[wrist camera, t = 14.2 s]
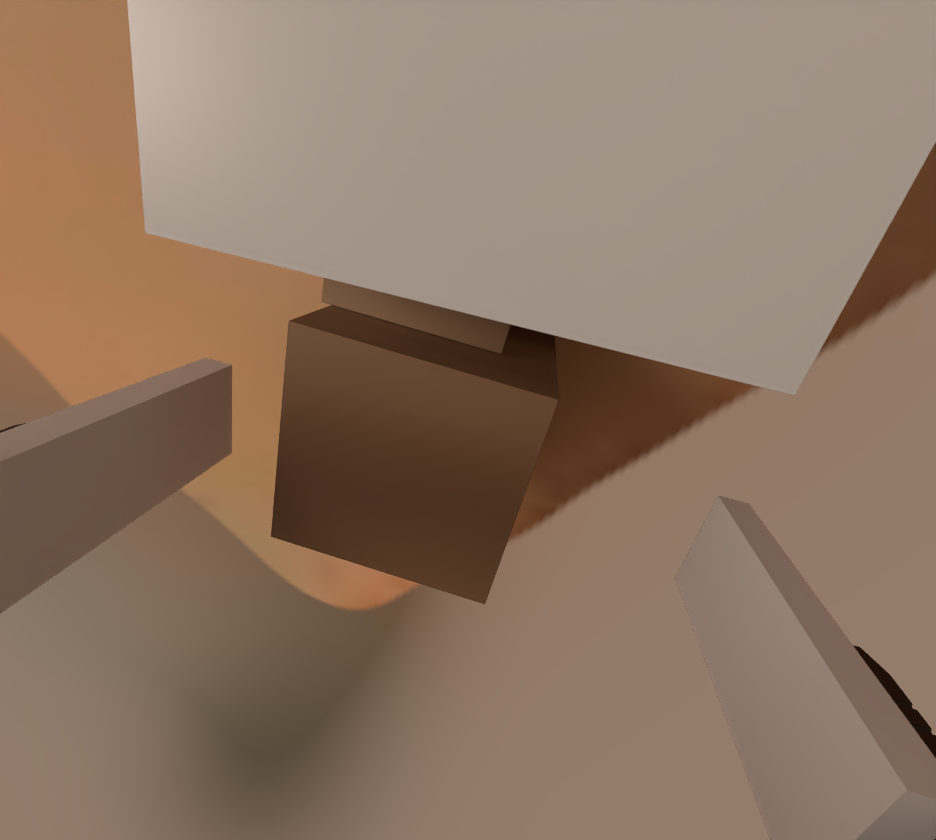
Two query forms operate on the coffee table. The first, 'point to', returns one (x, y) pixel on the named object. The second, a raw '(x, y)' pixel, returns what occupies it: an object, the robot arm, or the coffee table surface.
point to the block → (409, 445)
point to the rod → (418, 315)
